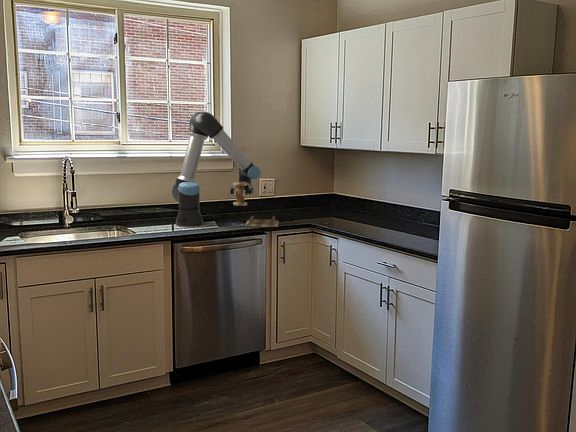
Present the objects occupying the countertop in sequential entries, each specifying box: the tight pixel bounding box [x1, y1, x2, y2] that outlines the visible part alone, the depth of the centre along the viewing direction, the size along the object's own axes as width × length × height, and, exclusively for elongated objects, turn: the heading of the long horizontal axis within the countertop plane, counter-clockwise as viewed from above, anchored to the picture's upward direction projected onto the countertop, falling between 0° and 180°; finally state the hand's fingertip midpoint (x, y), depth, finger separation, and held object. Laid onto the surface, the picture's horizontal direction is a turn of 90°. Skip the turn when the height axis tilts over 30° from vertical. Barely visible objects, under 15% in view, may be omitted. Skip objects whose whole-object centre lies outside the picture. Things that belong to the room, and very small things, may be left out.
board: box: [245, 215, 280, 228], centre depth 340 cm, size 18×14×4 cm
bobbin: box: [232, 181, 248, 207], centre depth 336 cm, size 8×8×12 cm
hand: (239, 193), depth 331 cm, fingers closed on bobbin, 4 cm apart
